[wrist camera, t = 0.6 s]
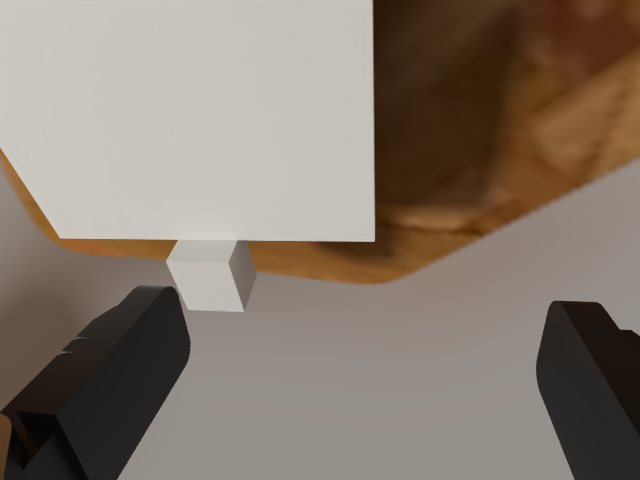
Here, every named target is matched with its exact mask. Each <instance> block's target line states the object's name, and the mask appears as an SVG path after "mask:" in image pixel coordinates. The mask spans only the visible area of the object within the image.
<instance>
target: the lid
mask: <svg viewBox="0 0 640 480" xmlns="http://www.w3.org/2000/svg"><path fill="white" fill-rule="evenodd" d="M0 148H1V149H2V151H3V152H4V154H5V155H6V157H7V158H8V160H9V161H10V163H11V164H12V166H13V167H14V169H15V170H16V172H17V173H18V175H19V176H20V178H21V179H22V181H23V183H24V184H25V186H26V187H27V189H28V190H29V192H30V193H31V195H32V196H33V198H34V199H35V201H36V202H37V204H38V205H39V207H40V208H41V210H42V211H43V213H44V214H45V216H46V217H47V219H48V220H49V222H50V223H51V225H52V227H53V228H54V230H55V231H56V233H57V234H58V236H59V237H60V238H83V239H173V240H178V241H177V243H176V245H175V247H174V248H173V250H172V252H171V254H170V255H169V257H168V259H167V260H166V263H167V265H168V267H169V269H170V271H171V274H172V276H173V278H174V280H175V282H176V284H177V286H178V289H179V291H180V293H181V295H182V297H183V300H184V302H185V304H186V306H187V308H188V310H206V311H231V312H245V309H246V306H247V303H248V299H249V297H250V294H251V291H252V288H253V284H254V282H255V279H256V271H255V268H254V264H253V260H252V257H251V253H250V249H249V246H248V242H247V240H263V241H352V242H375V133H374V16H373V0H0Z"/></svg>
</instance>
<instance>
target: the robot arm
mask: <svg viewBox="0 0 640 480" xmlns="http://www.w3.org/2000/svg"><path fill="white" fill-rule="evenodd" d="M189 354H190V337H189V334H188V330H187V326H186V322H185V319H184V315H183V311H182V307H181V303H180V300H179V296H178V293H177V292H176V290H175V288H173V287H171V286H145V285H140V286H137V287H136V288H135V289H133V290H132V291H131V292H130V293H129V295H127V297H126V298H125V299H124V300H123V301H122V302H121V303H120V304H119V305H118V306H115V307H113V308H112V309H110V310H108V311H107V312H105V313H104V314H102V315H100V316H99V317H97V318H96V319H94V320H92V321H91V322H90V323H89V324H88V325H87V326H86V327H85V328H84V329H83V330H82V331H81V332H80V333H79V334H78V336H76V340H72V341H71V342H70V343H69V345H67V346H66V347H65V348H64V349H63V350H62V354H61V355H57V356H56V357H55V358H54V359H53V360H52V361H51V362H50V363H49V364H48V365H47V366H46V367H45V368H44V369H43V370H42V371H41V372H40V373H39V374H38V375H37V376H36V377H35V378H34V379H33V380H32V381H31V382H30V383H29V384H28V385H27V386H26V387H25V388H24V389H23V390H22V391H21V392H20V393H19V394H18V395H17V396H16V397H15V398H14V399H13V400H12V401H11V402H10V403H9V404H8V405H7V406H6V407H5V408H4V409H3V410H2V411H1V412H0V480H117V479H118V477H119V475H120V474H121V472H122V470H123V469H124V467H125V465H126V464H127V462H128V460H129V459H130V457H131V455H132V454H133V452H134V451H135V449H136V447H137V446H138V444H139V442H140V441H141V439H142V437H143V436H144V434H145V432H146V431H147V429H148V427H149V426H150V424H151V422H152V421H153V419H154V417H155V416H156V414H157V412H158V411H159V409H160V408H161V406H162V404H163V402H164V401H165V399H166V398H167V396H168V394H169V393H170V391H171V389H172V387H173V386H174V384H175V383H176V381H177V379H178V378H179V376H180V374H181V373H182V371H183V369H184V368H185V366H186V364H187V362H188V359H189ZM536 375H537V383H538V387H539V391H540V393H541V396H542V398H543V401H544V404H545V406H546V409H547V411H548V414H549V416H550V418H551V421H552V423H553V426H554V429H555V431H556V434H557V436H558V439H559V441H560V444H561V446H562V449H563V451H564V454H565V457H566V459H567V462H568V464H569V466H570V469H571V472H572V474H573V477H574V479H575V480H640V336H639V335H637V334H636V333H635V332H633V331H632V330H620V329H619V328H618V327H617V325H616V324H615V322H614V321H613V320H612V318H611V317H610V316H609V314H608V313H607V312H606V310H605V309H604V308H603V306H602V305H601V304H599V303H597V302H577V301H553V302H552V303H551V305H550V306H549V309H548V313H547V317H546V322H545V326H544V330H543V335H542V339H541V343H540V348H539V352H538V357H537V364H536Z"/></svg>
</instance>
